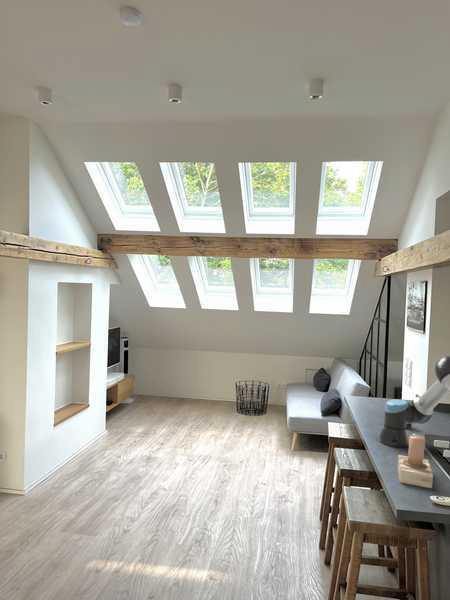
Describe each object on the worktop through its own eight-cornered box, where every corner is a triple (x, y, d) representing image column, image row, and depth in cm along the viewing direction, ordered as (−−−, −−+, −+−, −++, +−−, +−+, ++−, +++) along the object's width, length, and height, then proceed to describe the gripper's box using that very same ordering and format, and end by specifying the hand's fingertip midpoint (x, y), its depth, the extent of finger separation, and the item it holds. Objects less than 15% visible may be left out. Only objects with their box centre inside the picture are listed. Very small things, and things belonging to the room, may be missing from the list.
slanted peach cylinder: (413, 460, 214) (415, 434, 214) (425, 465, 209) (428, 438, 208) (404, 462, 211) (406, 436, 210) (416, 467, 205) (419, 440, 205)
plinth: (397, 466, 221) (398, 454, 221) (427, 471, 217) (428, 458, 217) (399, 482, 202) (400, 468, 202) (431, 488, 198) (433, 474, 198)
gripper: (501, 473, 193) (447, 466, 196) (477, 452, 218) (429, 447, 221) (502, 455, 193) (449, 449, 196) (478, 436, 218) (431, 431, 221)
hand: (438, 448), depth 208 cm, fingers open, 13 cm apart
